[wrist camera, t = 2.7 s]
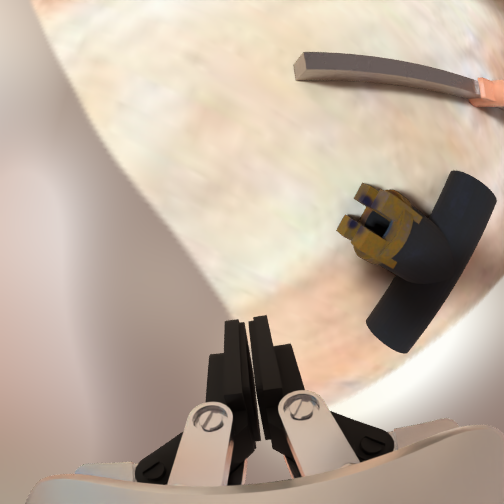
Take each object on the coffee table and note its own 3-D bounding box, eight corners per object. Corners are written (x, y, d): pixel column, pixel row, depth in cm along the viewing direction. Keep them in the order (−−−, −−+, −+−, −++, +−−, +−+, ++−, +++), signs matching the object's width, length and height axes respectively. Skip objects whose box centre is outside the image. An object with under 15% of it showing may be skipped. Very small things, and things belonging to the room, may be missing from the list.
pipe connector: (316, 326, 17) (430, 120, 13) (297, 287, 22) (388, 121, 18) (417, 358, 20) (505, 210, 16) (391, 325, 25) (466, 195, 20)
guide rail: (292, 57, 16) (320, 17, 9) (502, 94, 16) (549, 95, 9) (296, 88, 17) (329, 59, 10) (505, 115, 17) (553, 119, 10)
